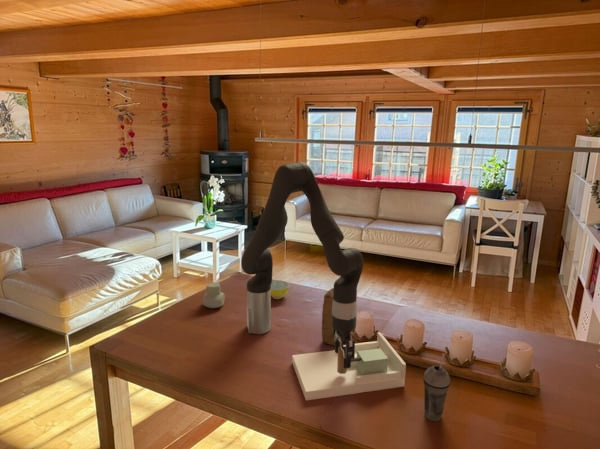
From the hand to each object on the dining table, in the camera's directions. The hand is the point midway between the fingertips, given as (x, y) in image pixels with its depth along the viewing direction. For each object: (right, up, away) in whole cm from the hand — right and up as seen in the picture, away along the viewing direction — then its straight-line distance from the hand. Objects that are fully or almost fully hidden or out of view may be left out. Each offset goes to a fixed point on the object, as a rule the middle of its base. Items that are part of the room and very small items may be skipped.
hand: (342, 359), depth 132 cm
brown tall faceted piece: (0, -2, +29) cm, 29 cm away
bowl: (-24, +8, +65) cm, 70 cm away
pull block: (+6, -5, +3) cm, 8 cm away
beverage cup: (+25, -12, -12) cm, 30 cm away
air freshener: (-52, +6, +56) cm, 76 cm away
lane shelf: (+2, -7, +7) cm, 10 cm away
